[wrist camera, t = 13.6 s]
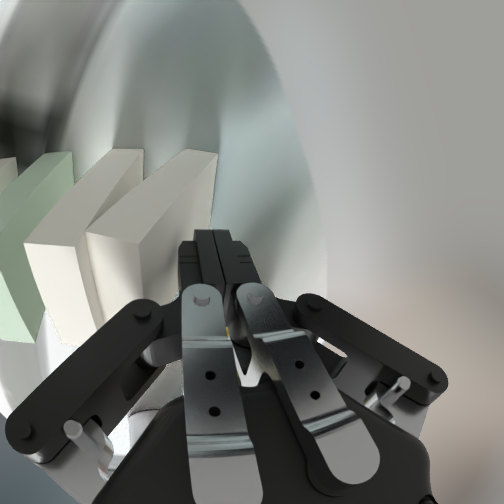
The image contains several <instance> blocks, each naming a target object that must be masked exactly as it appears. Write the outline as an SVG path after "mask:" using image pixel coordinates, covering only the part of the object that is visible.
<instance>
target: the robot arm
mask: <svg viewBox="0 0 504 504" xmlns="http://www.w3.org/2000/svg"><path fill="white" fill-rule="evenodd" d="M178 288H179V297H178V298H177V299H176V300H174V301H173V302H171V303H169V304H165V305H162V306H160V305H159V304H158V303H156V302H155V301H153V300H150V299H136V300H133V301H131V302H129V303H128V304H127V305H125V306H124V307H123V308H122V309H121V310H120V311H119V312H117V313H116V314H115V315H114V316H113V317H112V318H111V319H110V320H109V321H107V322H106V323H105V324H104V325H103V326H102V327H101V328H100V329H99V330H97V331H96V332H95V333H94V334H93V335H92V336H91V337H90V338H89V339H88V340H86V341H85V342H84V343H83V344H82V345H81V346H80V347H79V348H78V349H77V350H76V351H75V352H74V353H72V354H71V355H70V356H69V357H68V358H67V359H66V360H65V361H64V362H63V363H62V364H61V365H60V366H59V367H58V368H57V369H56V370H54V371H53V372H52V373H51V374H50V375H49V376H48V377H47V378H46V379H45V380H44V381H43V382H42V383H41V384H40V385H39V386H38V387H37V388H36V389H35V390H34V391H33V392H32V393H31V394H30V395H29V396H28V397H27V398H26V399H25V400H24V401H23V402H22V403H21V404H20V405H19V406H18V407H17V408H16V409H15V410H14V411H13V412H12V413H11V414H10V416H9V417H8V419H7V421H6V425H5V433H6V438H7V440H8V442H9V444H10V445H11V446H12V447H13V449H15V450H16V451H18V452H19V453H20V454H22V455H23V456H25V457H26V458H27V459H28V460H29V461H31V462H33V463H34V464H36V465H38V466H39V467H41V468H42V469H43V470H44V471H45V472H46V473H47V474H48V475H49V476H50V477H51V478H52V479H53V480H54V481H55V482H56V483H58V484H59V485H60V486H61V487H62V488H63V489H64V490H65V491H66V492H67V493H68V494H70V495H71V496H72V497H73V498H74V499H75V500H77V501H78V502H79V503H80V504H438V503H437V502H436V501H435V499H434V497H433V495H432V491H431V485H430V460H429V456H428V452H427V450H426V448H425V446H424V445H423V443H422V442H421V441H420V440H419V439H418V438H419V435H420V432H421V429H422V426H423V423H424V420H425V417H426V413H427V410H428V407H429V405H430V404H431V403H432V402H433V401H434V400H435V399H437V398H438V397H439V396H440V395H441V394H442V393H443V392H444V391H445V390H446V389H447V387H448V378H447V376H446V374H445V372H444V371H443V370H442V369H441V368H440V367H439V366H438V365H436V364H434V363H432V362H431V361H429V360H427V359H425V358H424V357H422V356H420V355H419V354H417V353H415V352H414V351H412V350H410V349H409V348H407V347H405V346H403V345H402V344H400V343H399V342H397V341H395V340H393V339H392V338H390V337H388V336H387V335H385V334H383V333H382V332H380V331H378V330H376V329H375V328H373V327H371V326H370V325H368V324H366V323H365V322H363V321H361V320H360V319H358V318H356V317H354V316H353V315H351V314H350V313H348V312H346V311H344V310H343V309H341V308H339V307H338V306H336V305H334V304H333V303H331V302H329V301H328V300H326V299H324V298H323V297H321V296H319V295H316V294H311V293H307V294H302V295H300V296H299V297H298V298H297V300H296V302H293V301H288V300H282V299H279V298H276V297H275V296H274V294H273V292H272V291H271V290H270V289H269V288H268V287H266V286H264V285H262V283H261V281H260V278H259V276H258V273H257V271H256V268H255V266H254V263H253V261H252V258H251V257H250V253H249V251H248V248H247V247H246V246H245V245H244V244H243V243H242V242H241V241H232V238H231V235H230V232H229V230H214V229H212V230H211V229H194V235H193V241H182V243H181V244H180V246H179V247H178ZM226 327H228V331H229V335H228V338H227V332H226ZM319 337H320V338H322V339H323V340H325V341H327V342H328V343H330V344H332V345H333V346H335V347H336V348H338V349H340V350H341V351H343V352H344V353H345V354H346V355H347V357H346V358H345V357H341V356H339V355H338V354H336V353H334V352H333V351H331V350H330V349H328V348H326V347H325V346H323V345H322V344H320V343H318V342H317V340H318V338H319ZM180 359H182V381H183V396H180V397H178V398H176V399H174V400H172V401H170V402H169V403H167V404H166V405H165V406H164V407H162V408H161V409H160V410H151V411H143V412H139V413H136V414H133V415H132V416H130V418H129V433H130V451H129V452H128V454H127V455H126V456H125V458H124V459H123V460H122V462H121V463H120V465H119V466H118V467H117V469H116V470H115V471H114V473H113V474H112V476H111V477H110V478H108V466H109V463H110V462H111V460H112V458H113V453H114V449H113V445H112V442H111V441H110V439H109V438H108V437H107V436H108V435H109V434H110V433H111V432H112V431H113V429H114V428H115V427H116V426H117V425H118V423H119V422H120V421H121V420H122V419H123V418H124V416H125V415H126V414H127V413H128V412H129V410H130V409H131V408H132V407H133V406H134V404H135V403H136V402H137V401H138V400H139V398H140V397H141V396H142V395H143V394H144V393H145V391H146V390H147V389H148V388H149V387H150V385H151V384H152V383H153V382H154V381H155V379H156V378H157V377H158V376H159V375H160V373H161V372H162V371H163V370H164V368H165V367H166V364H168V363H171V362H174V361H177V360H180ZM236 368H237V369H236ZM237 371H238V374H239V377H240V380H241V385H242V386H239V381H238V375H237Z"/></svg>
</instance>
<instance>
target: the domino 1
mask: <svg viewBox="0 0 504 504" xmlns="http://www.w3.org/2000/svg"><path fill="white" fill-rule="evenodd" d="M73 185H74V173H73V160H72V151H64V152H54V153H45V154H43V155H42V156H41V157H40V158H39V159H37V160H36V161H35V162H34V163H33V164H32V165H31V166H29V167H28V168H27V169H26V170H25V171H24V172H23V173H22V174H21V175H20V176H19V177H17V178H16V179H15V180H14V181H13V182H12V183H11V184H10V185H9V186H8V187H7V188H6V189H5V190H4V191H3V192H2V193H1V194H0V338H1V340H8V341H17V342H27V343H35V342H36V339H37V335H38V331H39V328H40V324H41V321H42V317H43V314H44V311H45V305H44V303H43V300H42V298H41V295H40V292H39V290H38V287H37V284H36V281H35V279H34V276H33V273H32V270H31V267H30V264H29V260H28V257H27V254H26V251H25V247H24V244H23V243H24V242H25V240H26V239H27V238H28V236H29V235H30V234H31V233H32V231H33V230H34V229H35V228H36V227H37V225H38V224H39V223H40V222H41V221H42V219H43V218H44V217H45V216H46V215H47V214H48V212H49V211H50V210H51V209H52V208H53V207H54V206H55V205H56V203H57V202H58V201H59V200H60V199H61V198H62V197H63V196H64V195H65V194H66V193H67V192H68V191H69V190H70V188H71V187H72V186H73Z"/></svg>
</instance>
